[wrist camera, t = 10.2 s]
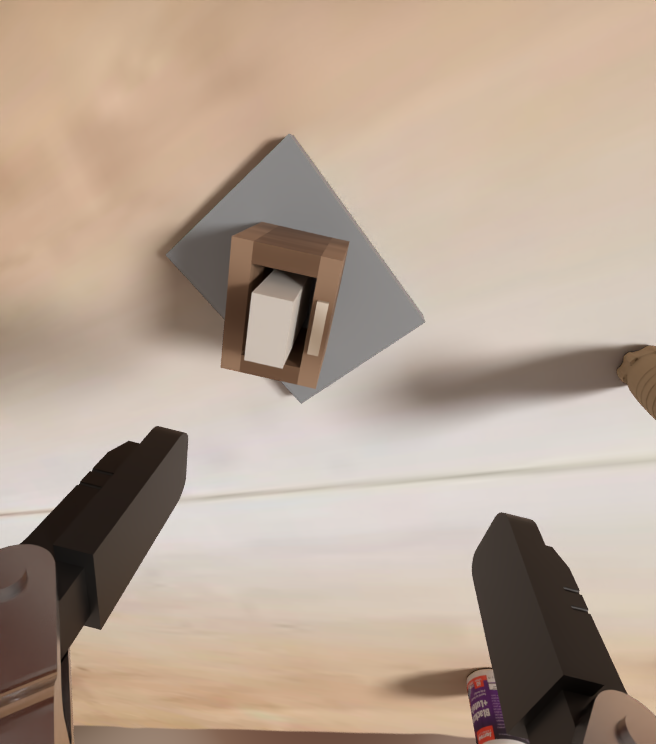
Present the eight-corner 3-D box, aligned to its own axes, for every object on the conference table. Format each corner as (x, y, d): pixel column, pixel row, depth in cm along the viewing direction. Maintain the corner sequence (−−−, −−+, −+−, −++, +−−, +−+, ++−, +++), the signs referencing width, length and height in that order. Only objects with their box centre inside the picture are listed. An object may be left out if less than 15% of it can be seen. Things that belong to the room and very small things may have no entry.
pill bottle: (471, 663, 46) (494, 778, 37) (519, 671, 46) (553, 788, 37) (460, 688, 48) (478, 801, 40) (505, 696, 48) (534, 811, 40)
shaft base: (293, 135, 24) (250, 118, 16) (422, 315, 28) (443, 377, 20) (175, 250, 28) (90, 286, 20) (304, 393, 32) (279, 474, 24)
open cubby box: (262, 221, 25) (229, 237, 20) (349, 241, 25) (342, 262, 20) (249, 330, 29) (218, 369, 23) (326, 347, 29) (314, 391, 23)
